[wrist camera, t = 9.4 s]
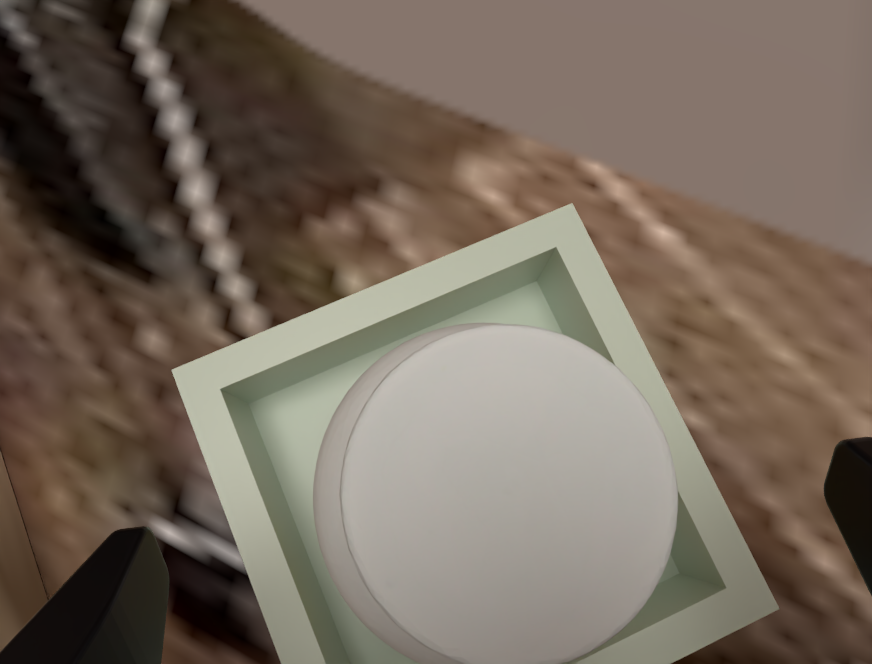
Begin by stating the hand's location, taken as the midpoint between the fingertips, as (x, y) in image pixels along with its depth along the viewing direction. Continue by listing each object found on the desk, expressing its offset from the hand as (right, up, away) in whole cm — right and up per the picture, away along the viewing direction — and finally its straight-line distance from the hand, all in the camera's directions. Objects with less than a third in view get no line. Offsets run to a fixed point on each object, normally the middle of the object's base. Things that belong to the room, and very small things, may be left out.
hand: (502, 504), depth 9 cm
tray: (0, -2, +9) cm, 9 cm away
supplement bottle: (0, -2, +9) cm, 9 cm away
